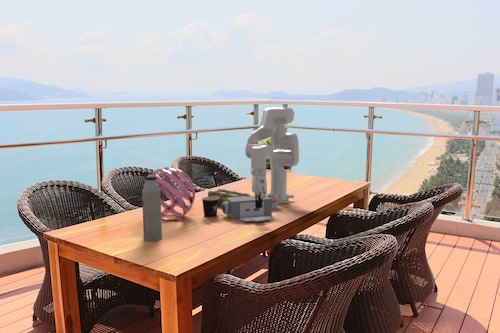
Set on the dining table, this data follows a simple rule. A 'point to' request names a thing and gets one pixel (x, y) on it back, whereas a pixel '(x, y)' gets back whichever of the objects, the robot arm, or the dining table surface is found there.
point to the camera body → (246, 207)
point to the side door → (255, 218)
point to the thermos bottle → (151, 210)
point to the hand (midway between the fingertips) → (258, 207)
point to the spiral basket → (175, 191)
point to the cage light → (225, 195)
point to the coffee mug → (210, 206)
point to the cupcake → (273, 200)
